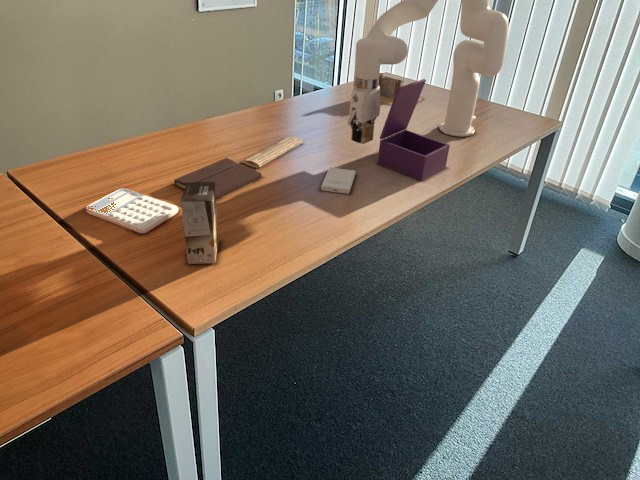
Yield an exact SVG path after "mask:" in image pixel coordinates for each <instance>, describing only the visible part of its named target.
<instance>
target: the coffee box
mask: <svg viewBox="0 0 640 480" xmlns="http://www.w3.org/2000/svg"><path fill="white" fill-rule="evenodd" d="M181 195H182V196H181V199H180V203H181V213H182V221H183V230H184V231H183V232H184V240H185V250H186V258H187V259H186V260H187V264H189V265H191V264H216V261H217V256H218V255H217V254H218V248H219V242H220V239H219V237H220V236H219V223H218V210H217V199H216V194H215V182H187V184H186V187H185V190H184V189H183V193H182V194H181ZM188 260H189V261H188ZM190 260H191V261H190ZM200 260H201V261H200Z"/></svg>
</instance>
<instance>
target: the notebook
mask: <svg viewBox="0 0 640 480" xmlns="http://www.w3.org/2000/svg"><path fill="white" fill-rule="evenodd" d="M262 175H263V174H262V172H260V171H258V170H256V169H253V168H250V167H248V166H245V165H243V164H242V163H238V162H237V161H234V160H233V159H230V158H228V157H225V158H222V159H219V160H218V161H216V162H215V161H214V162H213V163H211V164H208V165H205V166H203V167H200V168H199V169H196V170H194V171H191V172H189V173H187V174H184V175H182V176H180V177H177V178H175V179H174V185H175V186H176V187H179V188H180V189H183V191H184V190H185V187H186V184H187V182H215V194H216V200H217V199H220V198H222V197H224V196H226V195H228V194H230V193H232V192H234V191H236V190H238V189H241V188H242V187H244V186H247V185H248V184H251V183H253V182H255V181H257V180H259V179H261V178H262Z"/></svg>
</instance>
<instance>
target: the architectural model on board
mask: <svg viewBox="0 0 640 480" xmlns="http://www.w3.org/2000/svg"><path fill="white" fill-rule="evenodd" d="M404 83H405V80H403V79H398V78H394V77H389V76H385V75H384V73H383V72H380V75H379V86H380V103H383V104H386V105H390V106H392V103H393V100H394V97H395V95H396V92H397V89H398V88H399V87H402V86H404V85H405V84H404ZM422 100H423V97H419V99H418V102H420V101H422Z"/></svg>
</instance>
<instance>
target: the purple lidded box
mask: <svg viewBox="0 0 640 480" xmlns="http://www.w3.org/2000/svg"><path fill="white" fill-rule="evenodd" d="M379 140H380V141H379V148H378V157H377V165H380V166H382V167H384V168H388V169H390V170H393V171H395V172H398V173H401V174H402V175H406V176H407V177H410V178H413V179H416V180H418V181H420V182H423V181H424V180H426V179H428V178H430V177H431V176H434V175H435V174H437V173H439V172H441V171H442V170H445V169H446V167H447V162H448V157H449V151H450V147H451V145H450V144H448V143H445V142H443V141H439V140H437V139H434V138H431V137H428V136H425V135H422V134H419V133H416V132H414V131H411V130H408V129H405V130H403V131H400V132H398V133H396V134H393V135H391V136H389V137H386V138H384V139H382V140H381V139H379Z"/></svg>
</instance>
